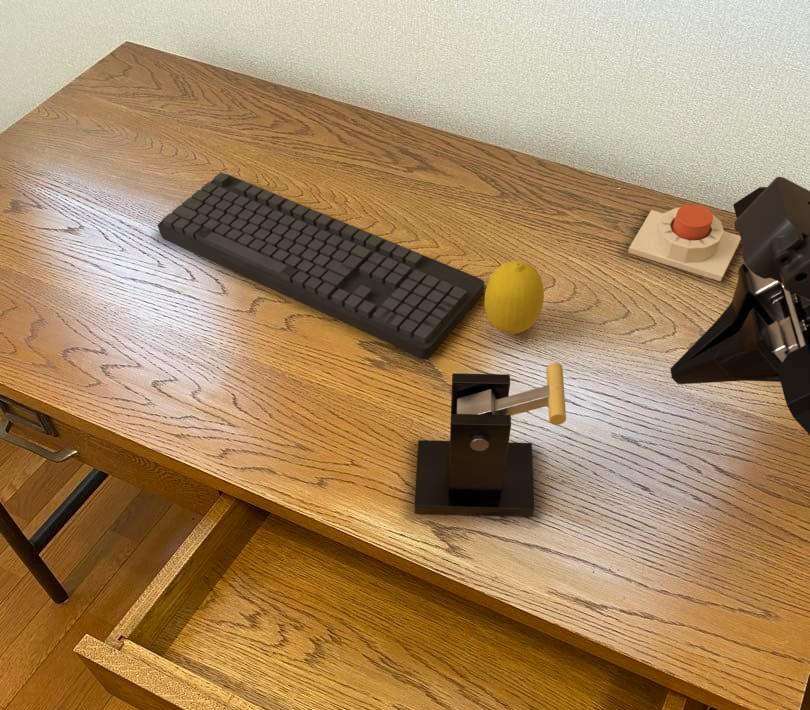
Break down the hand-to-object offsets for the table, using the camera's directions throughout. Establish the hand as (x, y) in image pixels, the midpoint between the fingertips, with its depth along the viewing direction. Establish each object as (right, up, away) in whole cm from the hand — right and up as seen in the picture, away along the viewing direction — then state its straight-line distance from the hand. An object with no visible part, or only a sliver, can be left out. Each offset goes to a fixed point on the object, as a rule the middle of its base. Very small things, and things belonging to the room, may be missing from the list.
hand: (673, 377), depth 52 cm
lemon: (-8, +9, +22) cm, 25 cm away
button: (+11, +21, +25) cm, 34 cm away
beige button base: (+11, +20, +27) cm, 35 cm away
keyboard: (-28, +18, +28) cm, 44 cm away
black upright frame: (-13, -6, +12) cm, 19 cm away
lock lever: (-10, -2, +5) cm, 11 cm away
